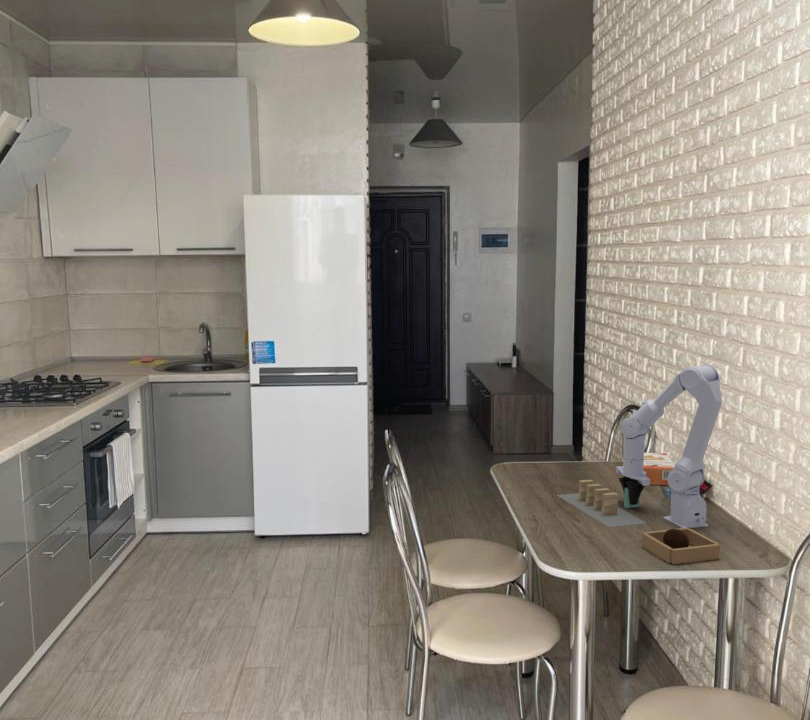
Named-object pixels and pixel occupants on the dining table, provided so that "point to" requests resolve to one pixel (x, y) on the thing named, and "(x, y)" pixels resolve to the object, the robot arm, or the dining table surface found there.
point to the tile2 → (609, 504)
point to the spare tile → (626, 500)
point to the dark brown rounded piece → (675, 539)
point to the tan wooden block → (599, 498)
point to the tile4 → (591, 493)
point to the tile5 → (583, 489)
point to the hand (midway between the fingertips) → (631, 503)
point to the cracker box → (657, 467)
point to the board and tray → (654, 535)
